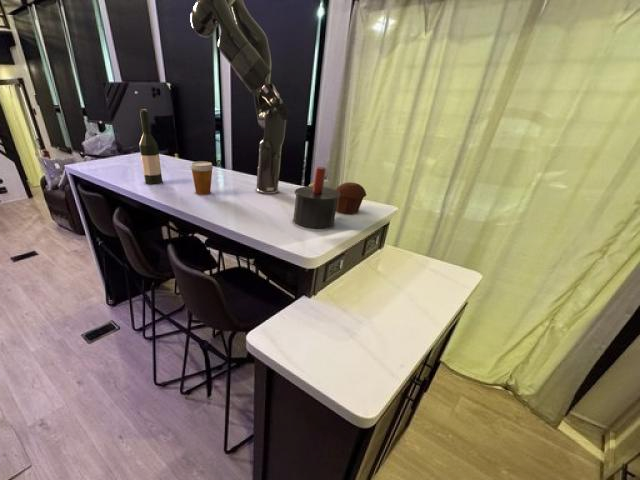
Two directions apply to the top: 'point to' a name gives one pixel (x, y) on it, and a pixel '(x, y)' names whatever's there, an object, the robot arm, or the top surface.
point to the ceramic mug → (325, 184)
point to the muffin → (350, 198)
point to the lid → (318, 189)
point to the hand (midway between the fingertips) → (287, 116)
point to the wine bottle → (149, 153)
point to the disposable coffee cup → (202, 177)
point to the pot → (314, 213)
